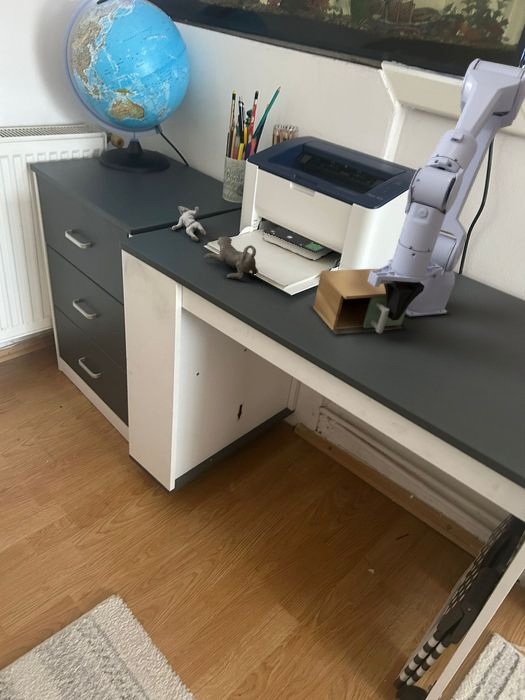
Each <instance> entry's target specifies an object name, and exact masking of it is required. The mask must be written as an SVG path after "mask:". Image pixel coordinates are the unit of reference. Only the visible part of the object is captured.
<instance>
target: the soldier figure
mask: <svg viewBox="0 0 525 700" xmlns="http://www.w3.org/2000/svg"><path fill="white" fill-rule="evenodd" d="M178 210H179V213H180V215H181V216H180V217H179V221H178V224H175V225H173V226H172V227H171V230H176V229H180V228H182V227H183V226H184V227H185V228H186V229H185V233H186V234H187V236H188V237H189V236H190V238H191V241H195V242H198V241H199V238H198V237H197V236H196V235H195V234H194V232H195V231H196V230H199V232H200V233H201V234H202V235H203V236H206V235H207V232H206V230H205V229H204V228H203V226H202V225H201V223H200V222H199V221H196V220H195V216H196V215H198V214H199V212H200V209H199V207H198V206H195V208H194V210H191V209H190V208H188V207H184V206H182V205H180V206H178Z"/></svg>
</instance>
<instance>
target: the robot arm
mask: <svg viewBox="0 0 525 700" xmlns="http://www.w3.org/2000/svg"><path fill="white" fill-rule="evenodd" d="M460 89H461V90H460V95H461V96H460V115H459V118H458V121H457V122H456V125H455V126H454V127H455V128H452V129H449V130H447V131H445V133H444V134H443V135H442V137H441V138H440V140H439V142H438V143H437V145H436V147H435V149H434V150H433V152H432V154H431V155H430V157H429V160H427V162H426V164H425V166H424V167H420V166H419V167H417V169H416V171H415V173H414V174H413V177H412V179H411V181H410V184H409V187H408V191H407V201H406V206H405V208H404V214H406V215H405V218H404V222H403V224H402V228H401V231H400V235H399V238H398V241H397V244H396V247H395V251H394V253H393V257H392V259H389V260H388V262H387V264H386V265H384V266H382V267H380V268H377V269H378V270H374V271H370V274H369V278H368V282H369V283H370V284H371V285H373V286H374V287H379V285H380V284H384V287H385V291H386V302H387V303H386V308H388V309H389V310H390V311H389V314H388V317H389V318H390V319H391V320H393V321H394V320H399V318H400V317H401V316H402V314H403V313H404V311H405V310H406V308H407V310H406V313H405V316H407V317H421V316H434V315H445V314H447V313H448V310H446V306H447V304H448V301H449V299H450V296H451V294H452V291H453V288H454V287H455V286H454V285H455V281H456V276H455V271H454V270H455V268H456V267H457V265H458V263H459V260H460V259H461V257H462V254H463V251H464V247H465V244H466V242H467V240H468V239H467V238H468V236H467V230H466V229H465V227H464V226H463V223H462V222H461V221H460V220H459V219H460V216H461V214H462V212H463V209H464V207H465V205H466V202H467V201H468V197H469V196H470V193H471V191H472V189H473V186H474V184H475V181H476V179H477V177H478V173H479V171H480V170H481V167H482V165H483V162H484V159H485V157H486V155H487V152H488V150H489V148H490V145H491V144H492V142H493V140H494V138H495V137H496V135H497V134H498V132H499V131H500V130H501V129H504V128H507V127H511V126H512V125H513V124H514V123H513V122H514V121H515V120H516V119H517V116H518V114H519V112H520V109H521V108H522V105H523V102H524V101H525V68H523V67H517V66H513V65H508V64H502V63H497V62H492V61H488V60H487V61H486V60H482V59H481V58H476V59H474V60H473V61H472V62H470V64H469V65H468V67H467V69H466V72H465V75H464V78H463V80H462V84H461V88H460ZM441 232H442V233H441ZM443 233H444V234H443ZM450 235H451V236H450ZM452 236H453V237H452Z"/></svg>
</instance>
